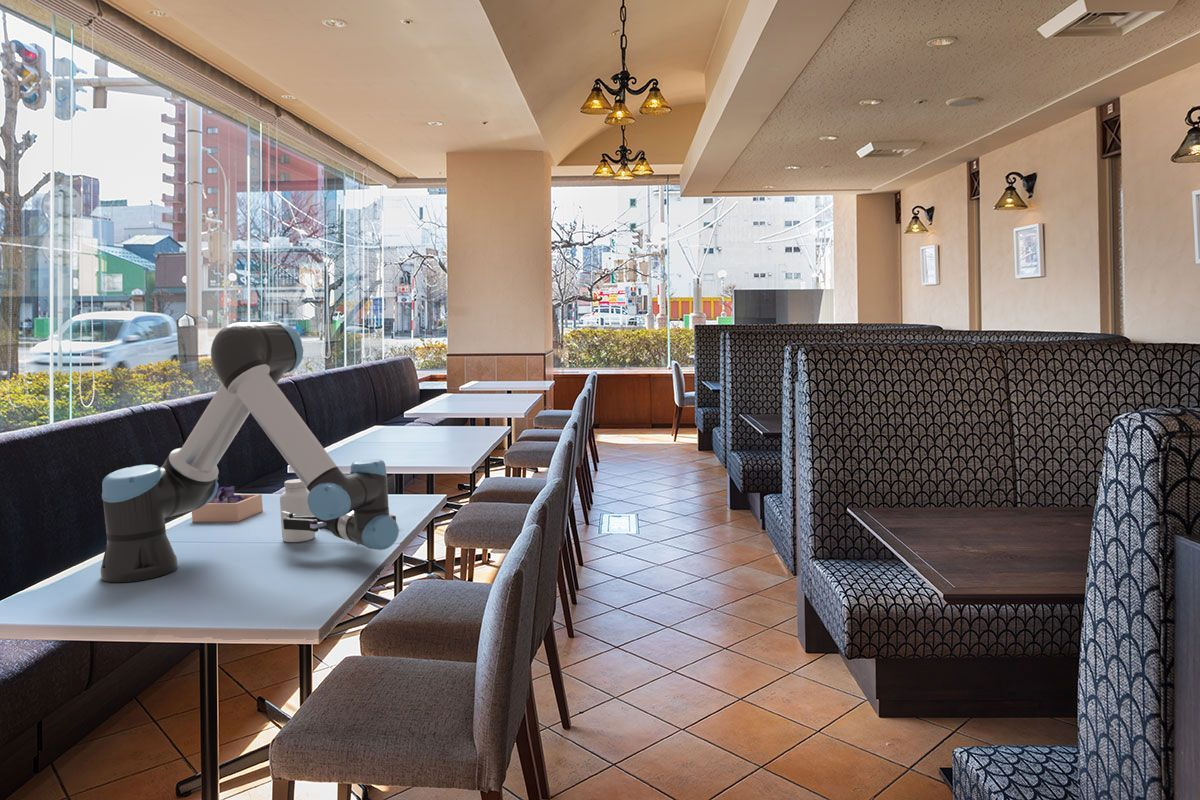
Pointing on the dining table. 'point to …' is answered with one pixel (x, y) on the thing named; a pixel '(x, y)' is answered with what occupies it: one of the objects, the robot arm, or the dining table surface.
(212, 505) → the flower planter
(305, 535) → the pill bottle
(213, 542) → the dining table surface
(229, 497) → the flower
